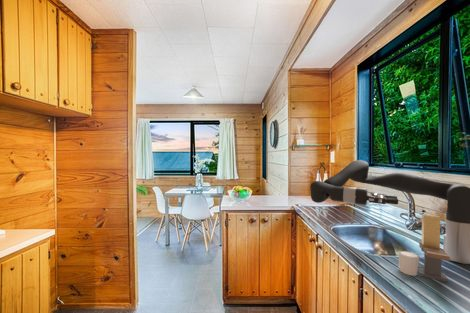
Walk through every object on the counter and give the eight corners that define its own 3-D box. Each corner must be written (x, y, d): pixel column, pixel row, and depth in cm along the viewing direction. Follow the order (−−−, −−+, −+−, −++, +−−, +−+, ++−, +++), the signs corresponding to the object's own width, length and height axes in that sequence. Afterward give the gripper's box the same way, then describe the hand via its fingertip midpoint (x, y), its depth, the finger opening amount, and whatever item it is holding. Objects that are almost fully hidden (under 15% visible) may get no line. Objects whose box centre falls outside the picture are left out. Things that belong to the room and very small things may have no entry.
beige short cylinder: (395, 266, 99) (395, 249, 99) (414, 269, 97) (415, 252, 97) (400, 274, 92) (401, 255, 92) (422, 277, 90) (423, 259, 90)
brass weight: (439, 248, 93) (440, 216, 94) (423, 245, 96) (423, 215, 97) (437, 246, 97) (437, 215, 99) (421, 243, 100) (422, 214, 101)
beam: (451, 261, 82) (451, 256, 82) (425, 256, 85) (425, 252, 85) (439, 249, 99) (439, 245, 99) (418, 245, 102) (418, 242, 102)
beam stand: (447, 281, 88) (448, 258, 88) (419, 275, 92) (420, 253, 92) (444, 276, 92) (445, 254, 92) (418, 270, 96) (418, 249, 96)
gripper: (356, 201, 117) (396, 206, 109) (352, 206, 105) (398, 212, 97) (356, 186, 117) (397, 189, 109) (353, 189, 105) (398, 193, 96)
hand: (397, 200), depth 103 cm, fingers open, 8 cm apart
